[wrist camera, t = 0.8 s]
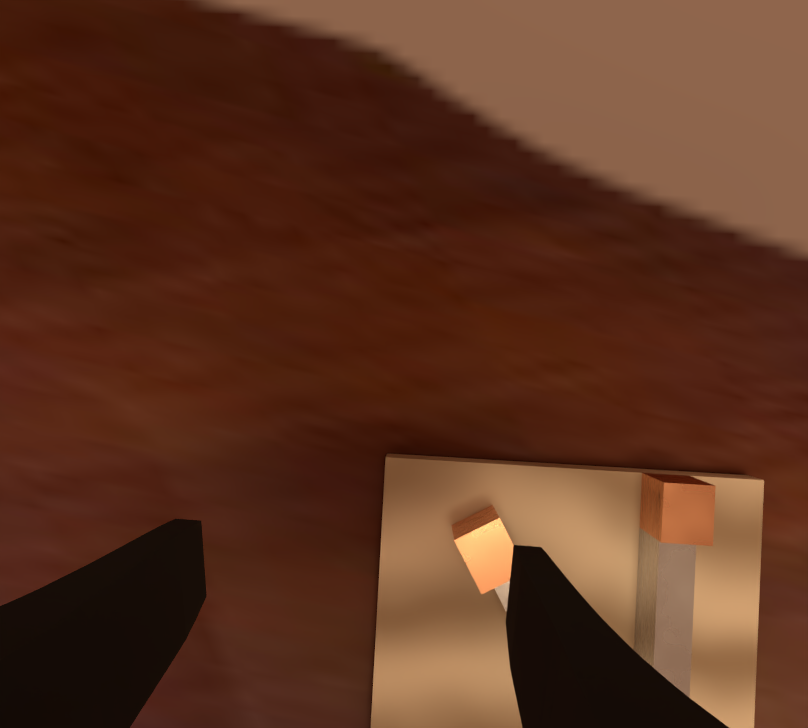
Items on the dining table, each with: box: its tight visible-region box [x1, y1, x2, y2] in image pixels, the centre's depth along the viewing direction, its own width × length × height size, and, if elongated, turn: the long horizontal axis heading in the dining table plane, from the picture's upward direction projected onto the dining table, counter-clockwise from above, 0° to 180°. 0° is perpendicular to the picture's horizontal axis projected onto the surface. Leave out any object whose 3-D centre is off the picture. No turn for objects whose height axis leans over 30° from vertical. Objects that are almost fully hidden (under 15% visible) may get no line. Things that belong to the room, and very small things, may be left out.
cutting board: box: [371, 453, 764, 728], centre depth 25 cm, size 15×18×1 cm
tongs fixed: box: [634, 473, 716, 698], centre depth 23 cm, size 15×4×3 cm, turn 177°
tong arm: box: [451, 505, 514, 613], centre depth 23 cm, size 12×2×2 cm, turn 27°
